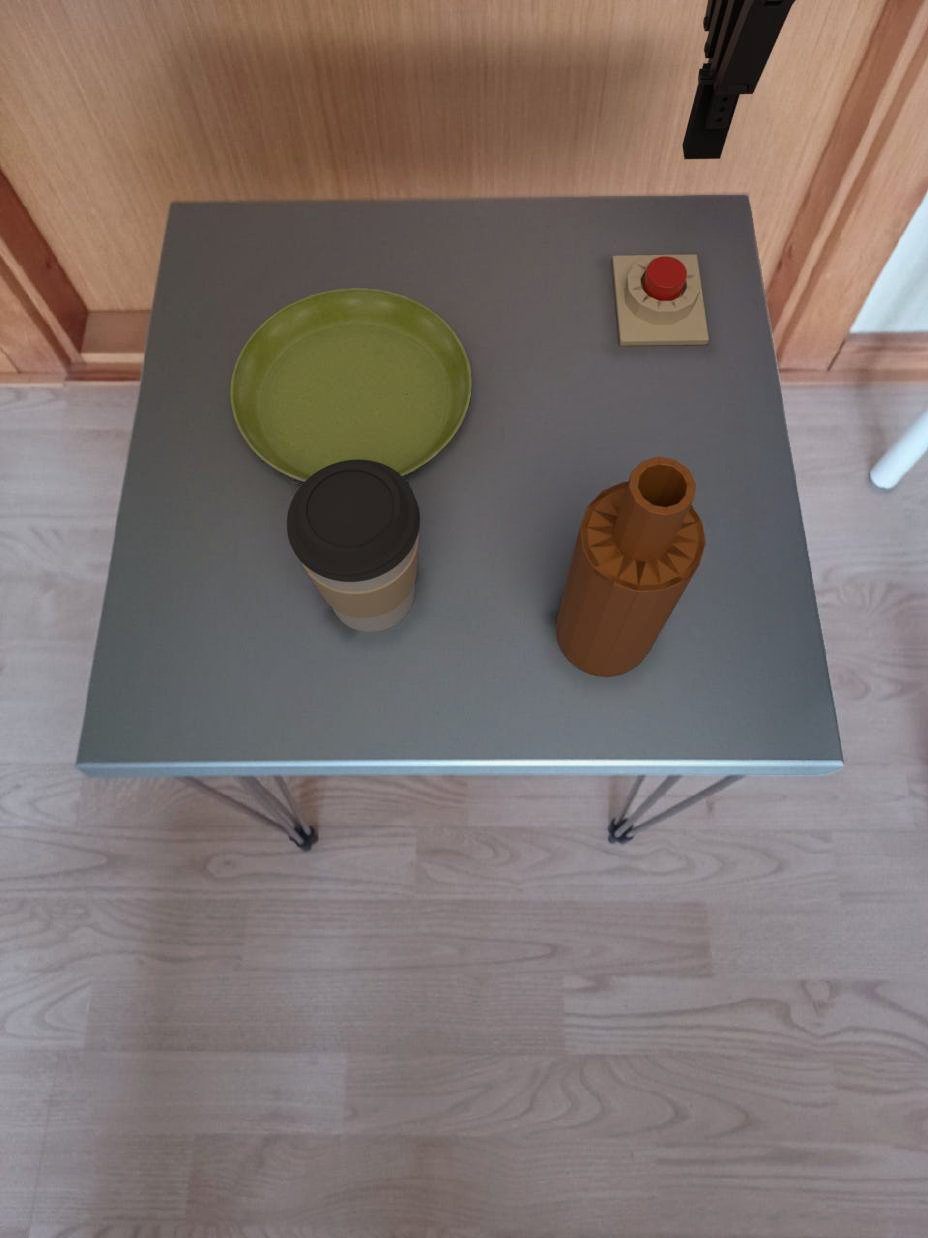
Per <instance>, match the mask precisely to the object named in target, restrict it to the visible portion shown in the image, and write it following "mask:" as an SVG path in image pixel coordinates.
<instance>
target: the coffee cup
mask: <svg viewBox="0 0 928 1238" xmlns="http://www.w3.org/2000/svg"><path fill="white" fill-rule="evenodd" d="M414 493H415V492H414V490H413V489H412V487H411V485H410V484H409V482H408V481H407V479H405V477H404V476H403V477H402V476H401V475H400V474H399V473H398V472H397V471H395V470H394V469H392V468H391V467H389V466H387V465H384V464H382V463H379V462H375V461H371V460H362V459H355V460H346V461H341V462H337V463H334V464H331V465H329V466H326V467H324V468H322V469H321V470H319V471H317V472H316V473H314V474H313V475H312V476H310V477H309V478H308V479H307V480H306V481H305V482H302V484H301V485H300V486H299V488H297V490H296V492H295V493H294V495H293V497H292V499H291V501H290V504H289V506H288V509H287V515H286V532H287V538H288V541H289V545H290V547H291V549H292V551H293V554H294V555H295V556H296V558H297V559H298V560H299V561H300V562H301V565H302V566H303V568H304V570H305V571H306V573H307V574H308V576H309V578H310V579H311V580H312V582H313V584H314V586H315V587H316V589H317V590H318V592H319V593H320V595H321V597H322V598H323V601H325V603H326V604H328V605H329V607H330V608H331V609H332V610H333V612H334V614H335V615H336V617H337V618H338V619H339V620H340V622H342V623H343V624H344V625H346V626H347V627H348V628H351V629H353V630H354V631H358V632H364V633H376V632H377V633H378V632H382V631H385V630H388V629H390V628H392V627H394V626H396V625H397V624H399V623H400V622H401V621H402V620H403V619H404V618H405V617H406V616H407V615H408V613H409V612H410V610H411V608H412V606H413V603H414V600H415V594H416V581H417V576H418V575H417V574H418V556H419V539H420V538H419V532H420V526H421V514H420V513H421V512H420V507H419V503H418V502H417V499H416V496H415V494H414Z"/></svg>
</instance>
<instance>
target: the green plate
mask: <svg viewBox="0 0 928 1238" xmlns="http://www.w3.org/2000/svg"><path fill="white" fill-rule="evenodd" d="M229 390H230V391H229V393H230V394H229V395H230V396H229V397H230V407H231V411H232V415H233V418H234V422H235V424H236V426H237V428H238V430H239V432H240V434H241V436H242V437H243V439H244V441H245V442H246V444H247V445H248V446H249V447H250V448H251V450H252V451H253V452H254V453H255V454H256V455H257V456H258V457H259V458H260V459H261V460H263V462H265V463H266V464H268V465H269V466H270V467H272V468H273V469H275V470H276V471H278V472H279V473H282V474H284V475H286V476H288V477H290V478H292V479H294V480H297V481H299V482H300V481H301V482H302V483H304V482H305V481H306V480H307V479H308V478H309V477H310V476H312V475H313V474H314V473H316V472H317V471H319V470H321V469H322V468H324V467H326V466H329V465H331V464H334V463H337V462H341V461H346V460H355V459H362V460H371V461H375V462H379V463H382V464H384V465H387V466H389V467H391V468H392V469H394V470H395V471H397V472H398V473H399V474H400V475H401V476H402V477H403V478H404V477H405V476H407V475H409V474H411V473H413V472H415V471H417V470H418V469H419V468H421V467H423V466H424V465H426V464H427V463H429V461H431V460H432V459H433V458H435V457H436V456H437V455H438V454H439V453H440V452H441V451H443V449H444V448H446V446H447V445H448V444H449V443H450V441H451V440H452V439H453V438H454V437H455V435H456V433H457V432H458V430H459V428H460V427H461V426H462V424H463V421H464V419H465V417H466V414H467V411H468V409H469V405H470V401H471V397H472V369H471V365H470V360H469V357H468V355H467V352H466V350H465V347H464V345H463V344H462V341H461V340H460V338H459V336H457V334H456V332H455V331H454V330H453V329H452V327H451V326H450V325H449V324H448V323H447V322H446V321H445V320H444V319H443V318H442V317H441V316H439V315H438V314H437V313H436V312H434V311H433V310H432V309H430V308H428V307H427V306H426V305H424V304H422V303H420V302H418V301H416V300H415V299H412V298H409V297H408V296H405V295H402V294H398V293H395V292H391V291H387V290H382V289H376V288H368V287H367V288H366V287H349V288H338V289H332V290H326V291H322V292H318V293H315V294H312V295H309V296H306V297H303V298H301V299H298V300H296V301H294V302H292V303H290V304H288V305H286V306H284V307H283V308H281V309H280V310H278V311H277V312H275V313H274V314H272V315H271V316H270V317H268V318H267V319H266V320H265V321H264V322H262V324H261V325H260V326H259V327H257V329H256V330H254V332H253V333H252V334H251V335H250V337H249V338H248V340H247V341H246V342H245V344H244V345H243V347H242V349H241V351H240V352H239V355H238V357H237V359H236V361H235V365H234V367H233V371H232V374H231V380H230V389H229Z"/></svg>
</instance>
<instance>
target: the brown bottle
mask: <svg viewBox="0 0 928 1238" xmlns="http://www.w3.org/2000/svg"><path fill="white" fill-rule="evenodd" d="M696 489H697V483H696V481H695V478H694V476H693V475H692V472H691V470H690V469H689V468H688V467H686V466H685V465H684V464H683V463H681V462H680V461H678V460H677V459H674V458H669V457H663V456H655V457H652V458H648V459H643V460H642V461H641V462H640V463H639V464H638V465H637V466H636V467H635V468H634V469H633V470H632V471H631V473H630V476H629V479H628V481H621V482H620V483H618V484H615V485H612V486H611V487H608V488H606V489H602V491H601V492H599V494H598V495H597V496H596V497H594V499H593V500H592V501H591V502H590V503H589V504H588V505H587V506H586V508H585V511H584V514H583V517H582V520H581V521H580V524H579V529H578V533H577V537H576V541H575V545H574V549H573V552H572V557H571V561H570V564H569V568H568V569H569V570H568V573H567V577H566V581H565V585H564V590H563V593H562V596H561V597H562V598H561V600H560V606H559V608H558V612H557V617H556V621H555V623H556V624H555V626H556V627H555V634H556V641H557V644H558V646H559V648H560V650H561V652H562V654H563V655H564V657H565V658H566V659H567V661H568V662H569V663H571V665H573V666H574V667H576V668H577V669H578V670H580V671H581V672H584V673H586V674H589V675H592V676H595V677H603V678H611V677H617V676H618V677H619V676H622V675H624V674H627V673H630V672H631V671H632V670H634V669H635V668H637V667H638V666H639V665H640V664H641V663H642V662H643V661H644V659H645V658H646V657H647V656H648V654H649V653H650V651H651V650H652V648H653V646H654V644H655V643H656V641H657V639H658V638H659V636H660V634H661V632H662V631H663V629H664V627H665V625H666V623H667V622H668V620H669V618H670V616H671V615H672V613H673V611H674V610H675V608H676V606H677V605H678V603H679V601H680V599H681V598H682V596H683V594H684V593H685V591H686V589H687V587H688V585H689V584H690V582H691V581H692V579H693V577H694V575H695V573H696V572H697V570H698V568H699V567H700V565H701V562H702V558H703V554H704V551H705V548H706V545H707V544H706V543H707V542H706V536H705V530H704V524H703V520H702V519H701V517H700V515H699V514H698V512H697V510H696V509H695V508H694V506H693V502H694V499H695V495H696Z"/></svg>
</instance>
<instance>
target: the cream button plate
mask: <svg viewBox="0 0 928 1238" xmlns="http://www.w3.org/2000/svg"><path fill="white" fill-rule="evenodd" d="M662 256H668V257H673V258H676V259H678V260H679V261H681V262H682V263H683V264H684V266H685V268H686V271H687V277H686V280H685V283H684V286H683V289H682V292H681V294H680V295H679V296H678V297H676V298H675V299H673V300H669V301H660V300H656V299H654V298H652V297H650V296H649V295H648V294H647V293H646V291H645V290H644V286H643V282H644V277H645V273H646V270H647V266H648V264H649V263H650V262H651V261H652V260H654V259H655V258H658V257H662ZM611 268H612V277H613V278H612V279H613V290H614V300H615V311H616V321H617V322H616V323H617V332H618V342H619V343H618V344H619V346H620V347H628V346H629V347H630V346H631V347H633V346H634V347H635V346H639V347H640V346H641V347H642V346H643V347H644V346H703V345H708V343H709V340H710V339H709V331H708V326H707V318H706V317H707V316H706V310H705V302H704V297H703V289H702V281H701V275H700V273H701V272H700V267H699V259H698V254H694V253H693V254H639V255H638V254H636V255H635V254H633V255H631V254H629V255H628V254H626V255H625V254H624V255H623V254H622V255H612V257H611Z"/></svg>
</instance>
